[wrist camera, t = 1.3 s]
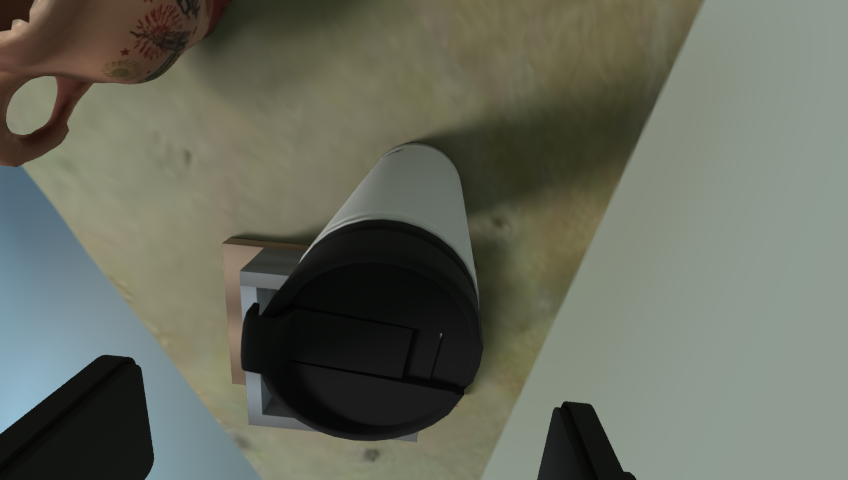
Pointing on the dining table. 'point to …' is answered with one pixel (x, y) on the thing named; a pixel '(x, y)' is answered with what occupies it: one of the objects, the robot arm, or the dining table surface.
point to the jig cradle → (258, 282)
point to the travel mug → (377, 308)
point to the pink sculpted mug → (89, 53)
